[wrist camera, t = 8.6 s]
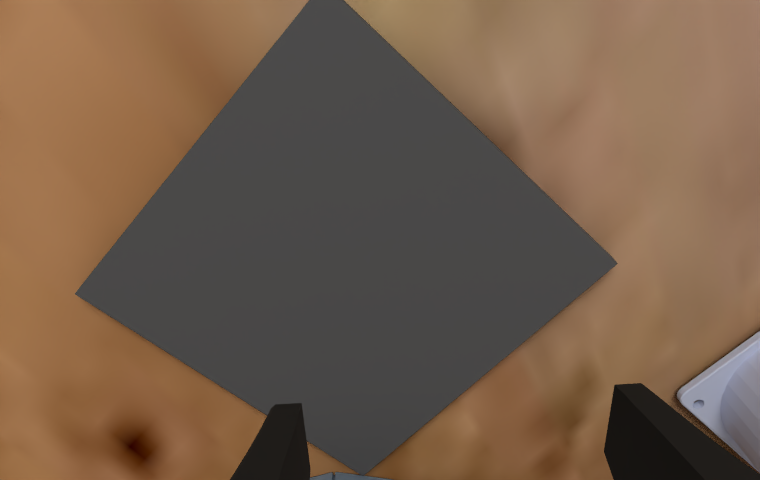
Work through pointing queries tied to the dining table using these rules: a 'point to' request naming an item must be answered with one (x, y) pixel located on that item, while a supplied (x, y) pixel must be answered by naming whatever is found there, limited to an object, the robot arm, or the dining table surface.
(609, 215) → the dining table surface
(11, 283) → the dining table surface
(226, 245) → the rubber mat
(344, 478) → the blue pet bowl
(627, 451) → the robot arm
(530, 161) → the dining table surface
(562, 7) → the dining table surface
